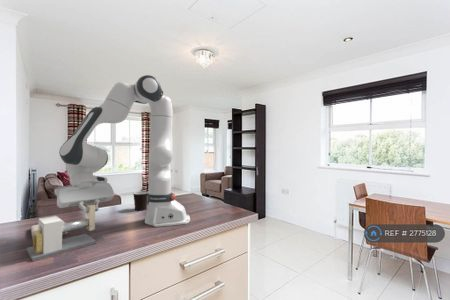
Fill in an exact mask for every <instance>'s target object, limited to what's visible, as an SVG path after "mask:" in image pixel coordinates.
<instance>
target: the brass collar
mask: <svg viewBox="0 0 450 300" xmlns="http://www.w3.org/2000/svg"><path fill="white" fill-rule="evenodd" d="M42 239H43V234H42V233H41V232H40V231H39V230H36V231H33V241H32V247H33V250H34V251H35V253H36V254H40V253H42Z"/></svg>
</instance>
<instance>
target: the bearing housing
mask: <svg viewBox="0 0 450 300" xmlns="http://www.w3.org/2000/svg"><path fill="white" fill-rule="evenodd" d="M62 220H63V219H61V218H59V216H58V215H50V216H45V217H39V218H38V223H37V225H38V230H39V231H40V232H41V233H42V234H43V239H42V253H40V254H36V253H35V251H34V250H33V246H30V247H26V252H27V254H28V256H29V258H30V260H31V262H35V261H39V260H42V259H46V258H49V257H53V256H57V255H59V254H60V255H61V254H63V253H67V252H71V251H74V250H77V249H81V248H85V247H87V246H91V245H95V244H97V241H96V240H95V239H94V238H93V237H91V236H90V235H89V234H87V233H82V234H78V235H74V236H70V237H66V238H63V235H62Z"/></svg>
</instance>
